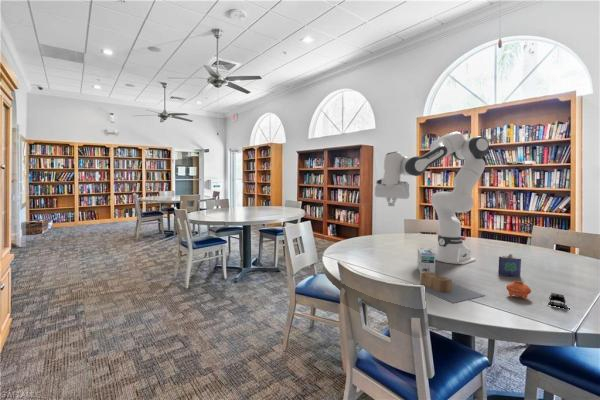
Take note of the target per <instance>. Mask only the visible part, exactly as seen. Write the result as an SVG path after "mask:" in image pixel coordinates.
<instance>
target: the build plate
mask: <svg viewBox="0 0 600 400" xmlns="http://www.w3.org/2000/svg"><path fill="white" fill-rule="evenodd" d="M564 295H565V294H559V293H555V292H551V293H550V294H549V297H548V298H549V300H548V302H549V303H548V305H551V306H556V307H560V308H564V309H569V310H570V308H568V307H567V305H568V304H566V299H565V296H564ZM555 301H556V302H555ZM564 309H563V310H564ZM569 310H568V311H569Z"/></svg>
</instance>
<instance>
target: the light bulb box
mask: <svg viewBox="0 0 600 400" xmlns="http://www.w3.org/2000/svg"><path fill="white" fill-rule="evenodd" d="M435 258H436V252H435V251H433V250H432V248H423V247H417V269H418V271H419V274H420V273H422V272H428V271H430V272H433V273H435V274H436V259H435Z"/></svg>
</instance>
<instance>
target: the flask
mask: <svg viewBox="0 0 600 400" xmlns="http://www.w3.org/2000/svg"><path fill="white" fill-rule="evenodd" d="M513 256H514V255H513V253H509V255H502V256H498V270H497V271H498V272H497V274H499V275H498V276H501V275H506V276H505V277H511V276H520V277H521V272H522V271H521V269H522V265H521V264H522V258H521V257H513Z"/></svg>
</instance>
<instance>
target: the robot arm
mask: <svg viewBox="0 0 600 400" xmlns="http://www.w3.org/2000/svg"><path fill="white" fill-rule="evenodd" d="M489 147H490V143H489V141H488V139H487V138H486V137H485V136H480V135H479V136H474V137H471V138H468V139H465V137H464V134H462V133H461V132H460V131H459V132H458V131H453V132H450V133H446V134H444V135H442V136H440V137H439V138H436V139H435V140H434V141H432V142H431V143H430V145H429V151H428V152H427V153H425V154H424V155H421V156H412V157H407V156H405V155H403V154H402V153H401V152H400V151H392V152H388V153H386V154H385V156H384V161H383V170H384V172H383V177H382V178H379V179H377V180H376V181H375V184H376V185H375V187H374V196H375V198H384V199H385V198H386V202H387V206H388V207H395V203H396V202H397V199H400V200H401V199H403V200H404V199H405V200H406V199H409V198H410V184H409V183H408V182H407V181H405V180H404V181H402V180H401V175H403V176H415V177H419V176H421V175H424V173H425V172H426V171H427V169H428V168H429V167H430V166H432V165H433V164H435V163H436V162H438V161H440V160H442V159H443V158H446V157H447V156H450V155H452V156H453V158H454V159H456V160H457V161H464V163H463V165H462V166H461V167H460V169H459V170H458V172H457V173H456V175H455V176H454V178H453V180H452V184H453V186H454V188H453V190H452V191H438V192H435V193H433V195H432V196H431V198H430V204H431V206H432V207H433V208H434V210H435V211H436V215H437V218H438V235H437V242H438V243H436V249H435V253H436V258H435V261H438V262H441V263H446V264H454V265H455V264H457V265H467V264H470V263H472V262H475V261H476V258H474V257H472V252H471V251H472V250H471V249H470V248H469V247H468V246H466V244H464V243H463V241H466V239H467V238H466V236H461V232H462V231H461V230H462V223H461V220H459V218H458V217H457V216H456V213H459V214H460V213H461V214H462V213H468V212H470V211H471V210H472V209H473V207H474V198H473V196H472V192H473V189H474V188H475V186H476V184H477V183H478V181H479V180H480V178H481V176H482V174H483V173H484V170H485V169H486V162H485V160H484V158H485V157H487V153H488V151H489ZM391 200H392V201H391Z"/></svg>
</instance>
